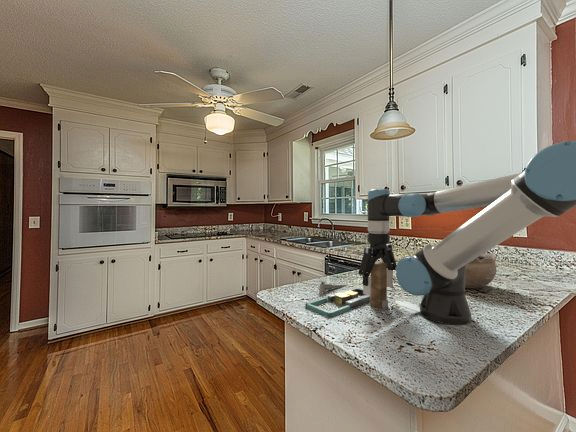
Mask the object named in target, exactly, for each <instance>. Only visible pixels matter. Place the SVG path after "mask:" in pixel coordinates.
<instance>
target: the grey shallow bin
mask: <svg viewBox="0 0 576 432" xmlns="http://www.w3.org/2000/svg"><path fill="white" fill-rule="evenodd" d="M347 291H353V292H357V293H358V298H355V299H352V300H349V301H346V305H340V304H337V303H335V294H339V293H344V292H347ZM370 297H371V295H370V296H369V295H366V294H363V288H360V287H356V286H354V287H352V288H351V287H350V288H348V289H345V290H342V291H337V292H335V293H331V294H328V295H327V296H326V298H327V302H330V303H332V304H335V305H338V306H341V307H344V306H347V305H349V306H350V310H354V309H355V308H358V307H362V306H363V305H366V304H370Z"/></svg>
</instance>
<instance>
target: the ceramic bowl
mask: <svg viewBox="0 0 576 432" xmlns="http://www.w3.org/2000/svg"><path fill="white" fill-rule="evenodd" d="M497 257H498V256H497V255H495V254H494V253H493V254H492V253H491V254H489V253H486V252H485V253H484V254H482V255H480V256H479V257H477V258H476V259H474V260H472V261H471V262H469V263H468V264H466V265H465V289H482V288H484V287H487V286H488V285H489V284H490V283H491V282H493V280H494V279H495V276H496V274H497V265H496V260H497Z"/></svg>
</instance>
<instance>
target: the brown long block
mask: <svg viewBox="0 0 576 432" xmlns="http://www.w3.org/2000/svg"><path fill="white" fill-rule="evenodd" d="M370 276H371V297H370V302H369V305H370V307H372V308H376V309H378V310H386V309H388V308H389V300H388V298H387V297H388V293H387V291H388V290H387V289H388V287H387V263H384V262H383V261H376V262H375V264H374V266H373V269H372V271H371V273H370Z"/></svg>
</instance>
